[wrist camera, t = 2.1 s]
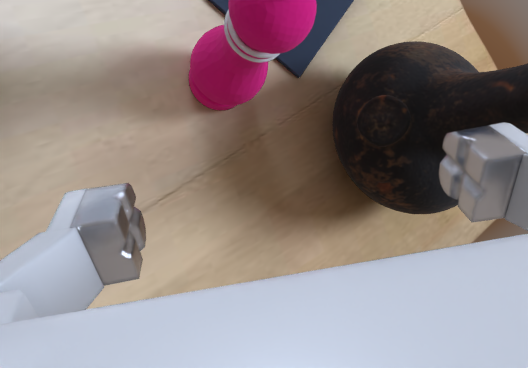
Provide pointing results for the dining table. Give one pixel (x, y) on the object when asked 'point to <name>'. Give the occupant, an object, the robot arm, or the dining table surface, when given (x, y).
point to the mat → (327, 16)
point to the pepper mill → (246, 49)
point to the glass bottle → (417, 119)
